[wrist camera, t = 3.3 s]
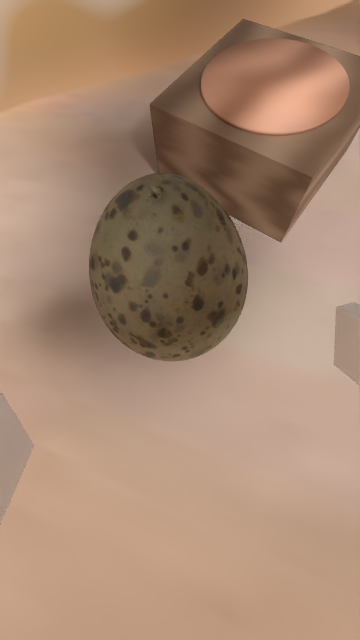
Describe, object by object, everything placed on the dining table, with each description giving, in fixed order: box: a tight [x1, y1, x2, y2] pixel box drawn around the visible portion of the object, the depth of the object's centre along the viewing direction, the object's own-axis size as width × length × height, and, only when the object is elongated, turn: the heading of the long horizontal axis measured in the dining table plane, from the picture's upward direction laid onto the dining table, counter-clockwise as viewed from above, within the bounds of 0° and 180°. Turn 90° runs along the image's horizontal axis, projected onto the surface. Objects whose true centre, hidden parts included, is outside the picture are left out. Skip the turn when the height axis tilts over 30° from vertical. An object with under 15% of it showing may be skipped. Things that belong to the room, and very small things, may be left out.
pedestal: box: [150, 19, 360, 242], centre depth 28 cm, size 16×16×8 cm
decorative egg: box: [89, 173, 248, 361], centre depth 19 cm, size 11×11×15 cm
